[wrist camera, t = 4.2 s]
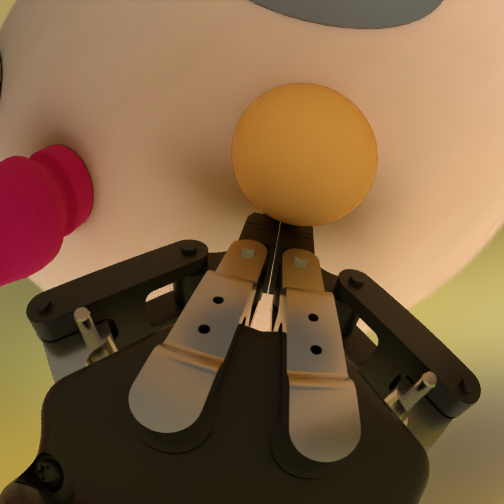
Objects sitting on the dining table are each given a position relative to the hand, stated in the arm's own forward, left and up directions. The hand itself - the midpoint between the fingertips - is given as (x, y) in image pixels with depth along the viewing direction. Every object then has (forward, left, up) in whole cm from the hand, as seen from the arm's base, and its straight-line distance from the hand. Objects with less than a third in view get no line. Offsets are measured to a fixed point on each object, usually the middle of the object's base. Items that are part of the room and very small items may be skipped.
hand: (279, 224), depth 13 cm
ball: (+1, +4, +1) cm, 4 cm away
